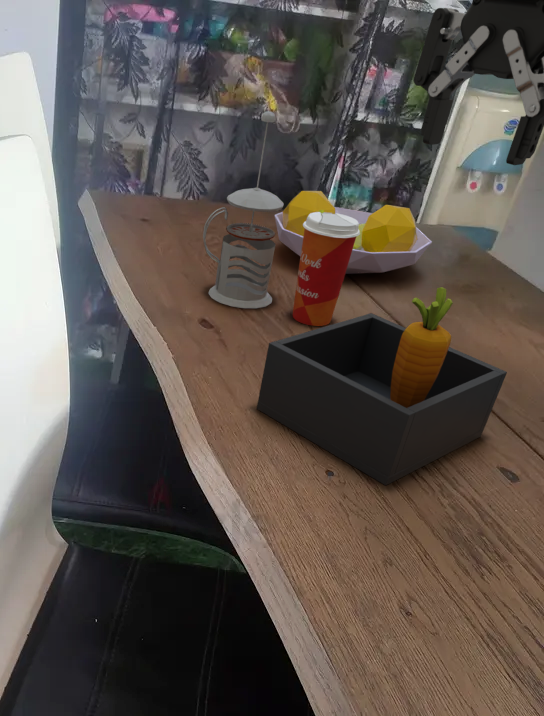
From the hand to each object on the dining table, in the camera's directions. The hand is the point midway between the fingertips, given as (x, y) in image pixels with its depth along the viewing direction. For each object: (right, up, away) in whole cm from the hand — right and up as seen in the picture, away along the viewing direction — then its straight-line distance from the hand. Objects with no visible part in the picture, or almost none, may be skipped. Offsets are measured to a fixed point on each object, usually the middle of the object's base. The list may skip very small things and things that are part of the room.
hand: (471, 153), depth 67 cm
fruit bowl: (+3, +11, +63) cm, 64 cm away
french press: (-17, 0, +45) cm, 48 cm away
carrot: (-2, -23, +14) cm, 27 cm away
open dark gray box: (-5, -23, +16) cm, 28 cm away
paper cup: (-6, -5, +40) cm, 41 cm away
